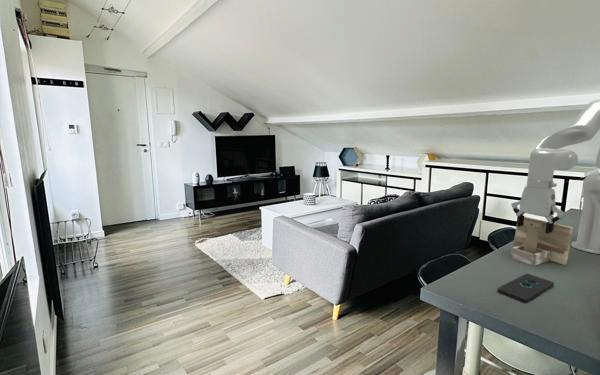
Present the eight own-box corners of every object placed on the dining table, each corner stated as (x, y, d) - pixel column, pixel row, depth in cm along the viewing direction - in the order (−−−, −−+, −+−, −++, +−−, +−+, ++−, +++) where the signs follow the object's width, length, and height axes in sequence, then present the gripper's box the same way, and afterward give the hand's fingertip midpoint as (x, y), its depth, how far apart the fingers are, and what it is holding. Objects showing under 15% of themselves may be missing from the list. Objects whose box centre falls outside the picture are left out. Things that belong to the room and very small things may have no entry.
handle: (536, 263, 122) (542, 224, 119) (516, 258, 127) (521, 220, 124) (540, 260, 125) (546, 222, 122) (521, 255, 130) (526, 218, 127)
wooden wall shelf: (516, 248, 138) (520, 215, 135) (567, 263, 122) (573, 227, 120) (497, 253, 131) (501, 219, 129) (548, 270, 116) (554, 232, 114)
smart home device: (555, 282, 105) (526, 299, 94) (554, 287, 105) (526, 305, 94) (526, 272, 111) (496, 287, 100) (525, 277, 112) (495, 293, 101)
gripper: (572, 186, 115) (565, 234, 118) (519, 180, 130) (515, 222, 133) (561, 189, 112) (555, 237, 115) (509, 182, 127) (504, 225, 130)
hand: (533, 229), depth 124 cm, fingers open, 9 cm apart
